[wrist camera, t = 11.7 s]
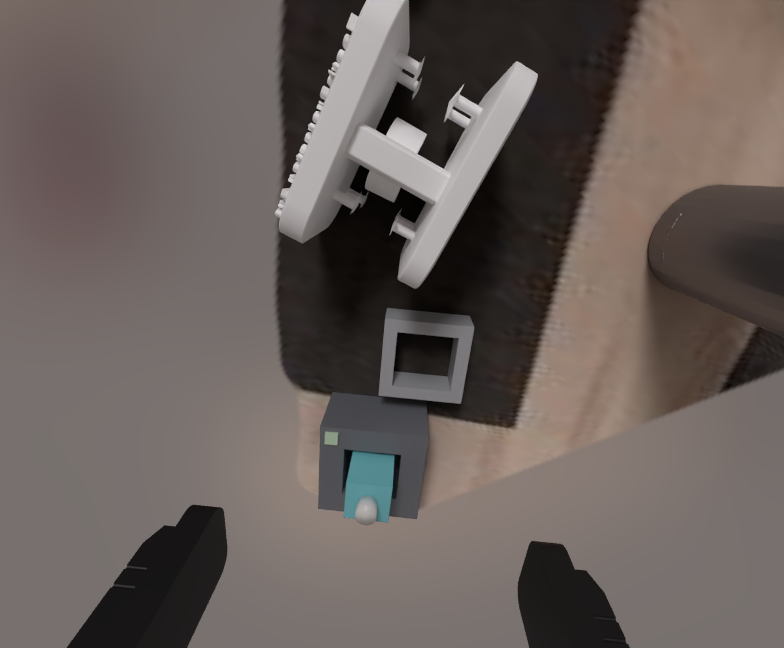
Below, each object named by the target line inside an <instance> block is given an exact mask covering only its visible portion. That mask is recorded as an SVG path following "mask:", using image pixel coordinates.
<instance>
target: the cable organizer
mask: <svg viewBox="0 0 784 648" xmlns="http://www.w3.org/2000/svg"><path fill="white" fill-rule="evenodd" d="M346 28H347V29H349V30H350V31H352V35H351V36H350V35H348V34H346V35H345V37H344V39H343V48H344V49H346V50H345V51H343V50H342V49H340V50H339V52H338V55H337V62H338V63H339V64H338V63H337V62H334V63H333V64H332V65H333V67H332V70H334V71H335V72H336V73H334V72H332V71H331V70H329V71H328V72H329V74H330V76H329V77H328V80H327V83H328V85H329V86H330V89H329V88H327V87H325V86H323V87H322V90H321V93H320V97H321V98H322V99H324V100H325V102H324V103H322V102H320V101H319V104H318V105H317V109H319V110H321V112H318V111H316V112H315V113H314V115H313V122H314V123H316V125H314V124H312V123H310V124H309V125H308V126H309V128H308V130H310V131H312V133H310V132H308V133H307V134H306V136H305V139H304V140H305V142H307V143H308V145H306V144H303V145H302V146H301V148H300V151H299V152H300V153H302V154H304V155H302V154H300V153H299V154H298V155H296V157H297V159H296V160H298V161H299V162H296V163H295V164H294V166H293V171H294V172H296V175H295V174H290V177H289V179H288V181H289V182H291V183H292V185H291V187H290V188H286V189H282V192H281V195H280V197H281V198H283V199H284V200H280V203H279V204H278V207H279V208H278V209H277V210H276V212H275V216H276V217H278V218H280V222H279V230H280V232H281V233H283V234H285V235H287V236H289V237H291V238H293V239H295V240H297V241H299V242H301V243H304V242H306V241H307V240H309V239H310V238H312V237H314V236H315V235H317V234H318V233H320V232H322V231H323V230H325V229H326V228H328V227H329V225H330V224H331V223H332V221H333V220H334V218H335V217H336V215H337V213H338V211H339V209H340V207H341V205H342V204H343V205H345V206H347V207H349V208H351V209H352V211H351V213H352V212H354V211H355V209H356V208H357V206H358V204H359V203H360V204H361V206H363V205H364V203H365V202H366V200H367V196H368V193H367V194H366V196H364V195H362V194H360V193H358V192H356V191H354V190H353V189H351V188H350V185H351V183H352V181H353V179H354V177H355V174H356V172H357V170H358V168H359V166H360V165H361V166H363V167H365V168H367V169H369V170H370V171H369V173H368V176H367V180H366V184H365V189H367V190H369V191H371V192H373V193H375V194H377V195H379V196H381V197H383V198H385V199H387V200H389V201H391V202H394V201H395V199H396V197H397V195H398V193H399V191H400V188H403V189H404V190H406V191H408V192H410V193H412V194H413V195H415V196H417V197H419V198H420V199H422V200H424V201H426V203H425V205H424V207H423V209H422V211H421V213H420V215H419V217H418V218H417V220H416V222H415V223H413V222H411V221H409V220H407V219H405V218H404V217H402V216H400V215H399V213H400V211H401V210H400V211H399V213H398V214H397V215H396V217H395V220H394V223H393V225H392V228H391V232H392V231H394V232H396V233H398V234H400V235H401V236H403V237H405V238H407V240H406V242H405V244H404V246H403V249H402V252H401V256H400V264H399V272H398V280H399V281H401V282H403V283H405V284H407V285H409V286H411V287H412V288H414V289H416V288H418V287H419V286H420V285H421V284H422V283H423V281H424V280H425V279H426V277H427V276H428V274H429V273H430V271H431V270H432V268H433V267H434V265H435V263H436V261H437V260H438V258H439V256H440V255H441V253H442V251H443V249H444V248H445V246H446V244H447V242H448V241H449V239H450V237H451V235H452V234H453V232H454V230H455V228H456V227H457V225H458V223H459V221H460V220H461V218H462V216H463V215H464V213H465V211H466V209H467V208H468V206H469V204H470V202H471V201H472V199H473V197H474V195H475V194H476V192H477V190H478V188H479V187H480V185H481V183H482V181H483V180H484V178H485V176H486V174H487V173H488V171H489V169H490V168H491V166H492V164H493V162H494V161H495V159H496V157H497V155H498V154H499V152H500V150H501V148H502V147H503V145H504V143H505V141H506V140H507V138H508V136H509V134H510V133H511V131H512V129H513V128H514V126H515V124H516V122H517V121H518V119H519V117H520V115H521V114H522V112H523V110H524V108H525V106H526V104H527V102H528V101H529V98H530V96H531V94H532V92H533V90H534V87H535V85H536V82H537V78H538V74H537V73H535V72H534V71H532V70H530V69H529V68H527V67H526V66H524V65H522V64H521V63H519V62H516V63H514V64H513V65H512V66H511V67H510V69H509V70H508V71H507V72H506V73H505V74H504V75H503V76H502V77H501V78H500V79H499V80H498V82H497V83H496V84H495V85H494V86H493V87H492V88H491V89H490V90H489V91H488V92H487V94H486V95H485V96H484V98H483V99H482V101H481V102H480V104H479V105H476V104H474V103H473V102H471V101H469V100H468V99H466V98H464V97H463V96H461V95H459V94H460V92H461V90H462V88H463V86H464V85H463V86H462V87H461V88H460V89H459V91H458V92H457V93H456V94H455V95H454V97H453V98H452V99H451V100H450V101H449V104H448V108H447V113H446V116H445V119H444V120H445V121H446V119H447V118H448V119H450V120H452V121H453V122H455V123H457V124H459V125H460V126H462V127H464V128H465V130H464V132H463V134H462V136H461V138H460V140H459V141H458V143H457V145H456V147H455V149H454V151H453V153H452V155H451V156H450V158H449V160H448V162H447V164H446V166H445V168H444V169H443V168H441V167H439V166H437V165H436V164H434V163H432V162H430V161H429V160H427V159H425V158H423V157H422V156H420V155H418V152H419V150H420V148H421V146H422V144H423V142H424V140H425V138H426V135H427V134H426V133H424V132H422V131H421V130H419V129H417V128H415V127H414V126H412V125H410V124H409V123H407V122H405V121H403V120H402V119H400V118H398V117H397V118H396V119H395V120H394V122H393V123H392V125H391V127H390V128H389V130H388V132H387V134H386V136H385V135H383V134H382V133H380V132H378V131H377V130H376V128H377V126H378V124H379V121H380V119H381V117H382V115H383V113H384V110H385V108H386V106H387V104H388V102H389V99H390V97H391V95H392V93H393V91H394V88H395V86H396V84H397V82H399V83H400V84H402V85H404V86H405V87H407V88H409V89H410V90H412V91H414V94H413V96H412V97H413V98H414V97H415V95H416V94H417V92H418V90H419V87H420V84H421V80H422V78H421V80H420V82H418V81H416V79H417V78H418V76H419V74H420V72H421V68H422V65H423V61H424V59H423V61H422V63H421V62H420V63H419V62H417V61H416V60H414V59H412V58H411V57H409V56H407V55H408V51H409V0H366V2H365V4H364V6H363V8H362V10H361V13H360V15H359V17H358V16H356V15H354V14H353V13H351V16H350V18H349V21H348V24H347V26H346ZM424 58H425V57H424ZM403 68H404V69H405V70H407V71H409V72H410V73H412V74H414V75H415V76H414V78H411V77H409V76H408V75H406V74H404V73H403V72H402V70H403ZM422 77H423V76H422ZM464 84H465V83H464ZM412 100H413V99H412ZM453 106H455V107H456V108H458V109H460V110H462V111H463V112H465V113H467V114H468V115H470V116H472V117H471V119H468V118H467V117H465V116H463V115H462V114H460V113H458V112H457V111H455V110H453V109H452V107H453ZM445 121H444V122H445ZM369 191H368V192H369ZM361 193H362V192H361ZM361 206H360V207H361ZM359 209H360V208H359ZM351 213H350V214H351ZM391 232H390V234H391ZM389 236H390V235H389Z"/></svg>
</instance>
